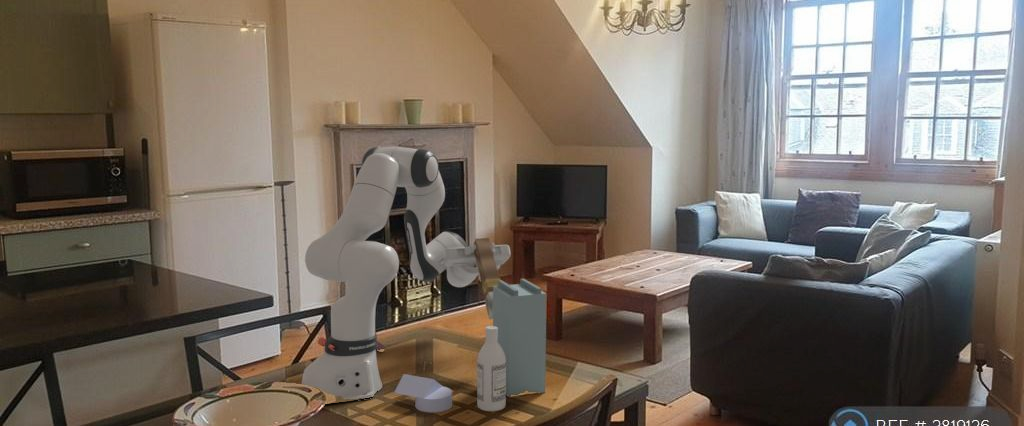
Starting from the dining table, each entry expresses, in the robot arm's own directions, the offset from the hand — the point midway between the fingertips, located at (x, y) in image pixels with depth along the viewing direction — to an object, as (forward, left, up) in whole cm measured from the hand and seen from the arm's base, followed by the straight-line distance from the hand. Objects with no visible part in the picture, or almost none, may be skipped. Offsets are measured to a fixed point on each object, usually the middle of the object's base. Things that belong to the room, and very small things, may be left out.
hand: (483, 246), depth 227 cm
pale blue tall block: (-7, -28, -32) cm, 43 cm away
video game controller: (-26, +22, -33) cm, 48 cm away
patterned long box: (-1, -4, -10) cm, 10 cm away
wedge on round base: (-33, -24, -33) cm, 52 cm away
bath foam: (-21, -35, -33) cm, 52 cm away
